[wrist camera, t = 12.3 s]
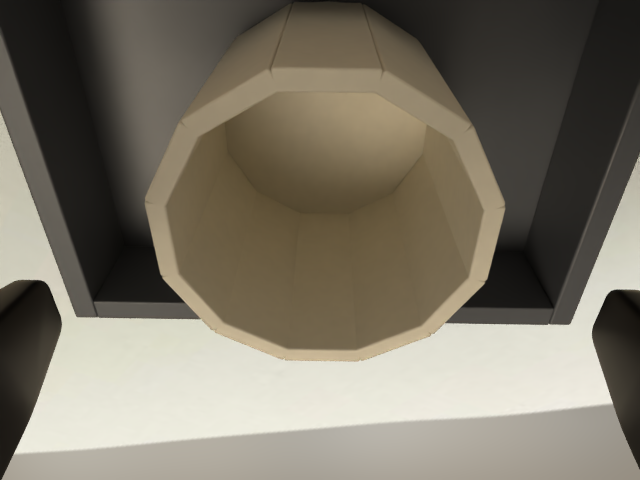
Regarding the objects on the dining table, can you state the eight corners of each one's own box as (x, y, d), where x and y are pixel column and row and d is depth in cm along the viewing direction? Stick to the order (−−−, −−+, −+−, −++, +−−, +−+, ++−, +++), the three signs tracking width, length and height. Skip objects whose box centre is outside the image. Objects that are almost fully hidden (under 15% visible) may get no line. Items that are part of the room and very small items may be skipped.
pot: (454, 0, 13) (542, 70, 8) (422, 216, 17) (466, 363, 12) (200, -3, 13) (112, 65, 8) (226, 213, 17) (178, 359, 12)
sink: (642, -95, 12) (741, -93, 9) (532, 257, 18) (570, 325, 16) (17, -101, 12) (-79, -101, 9) (116, 251, 19) (75, 318, 16)
